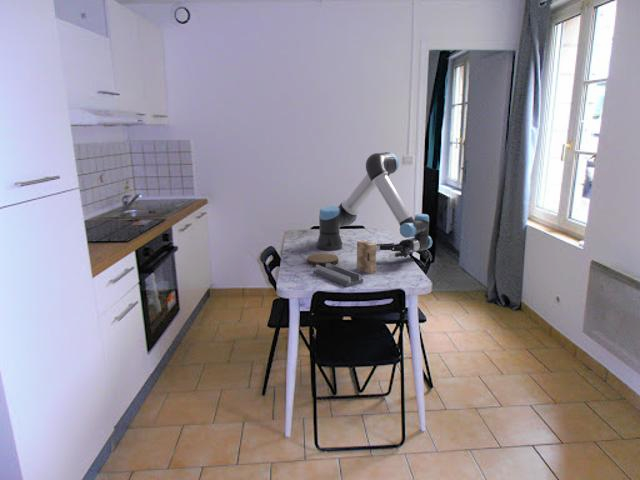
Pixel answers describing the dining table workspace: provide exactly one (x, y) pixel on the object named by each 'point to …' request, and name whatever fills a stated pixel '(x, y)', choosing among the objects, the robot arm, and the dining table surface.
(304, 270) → the dining table surface
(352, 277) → the track
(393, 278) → the dining table surface
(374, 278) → the dining table surface
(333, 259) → the wood log slice
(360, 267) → the door
